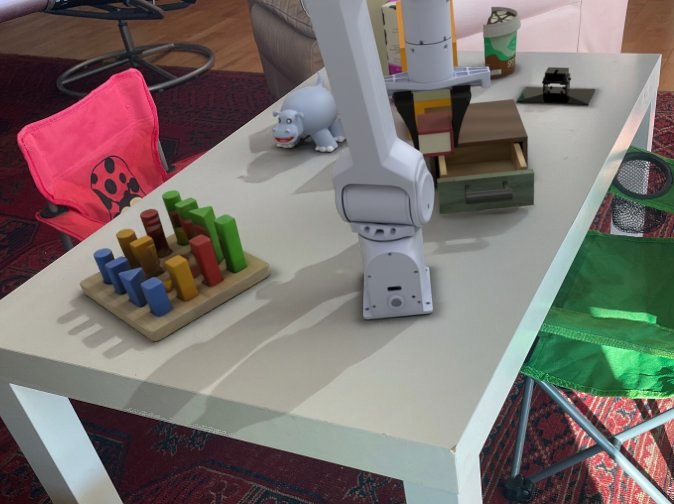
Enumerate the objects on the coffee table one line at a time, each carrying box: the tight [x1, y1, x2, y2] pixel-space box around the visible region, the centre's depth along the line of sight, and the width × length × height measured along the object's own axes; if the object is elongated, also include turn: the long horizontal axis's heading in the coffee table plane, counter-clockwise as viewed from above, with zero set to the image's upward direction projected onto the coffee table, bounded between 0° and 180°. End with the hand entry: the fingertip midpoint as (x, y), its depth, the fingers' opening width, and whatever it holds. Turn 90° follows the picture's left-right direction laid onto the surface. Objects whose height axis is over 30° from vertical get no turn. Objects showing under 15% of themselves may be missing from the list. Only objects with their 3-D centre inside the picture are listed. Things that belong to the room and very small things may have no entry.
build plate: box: [516, 66, 596, 107], centre depth 130 cm, size 12×7×5 cm, turn 70°
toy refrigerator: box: [366, 0, 390, 77], centre depth 136 cm, size 8×7×21 cm
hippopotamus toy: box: [271, 71, 346, 153], centre depth 122 cm, size 11×15×10 cm
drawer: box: [437, 142, 535, 215], centre depth 103 cm, size 17×13×5 cm
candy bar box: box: [381, 0, 402, 103], centre depth 131 cm, size 11×5×16 cm, turn 73°
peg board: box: [79, 189, 271, 342], centre depth 92 cm, size 18×17×9 cm
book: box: [417, 111, 454, 158], centre depth 97 cm, size 6×4×3 cm
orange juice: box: [396, 0, 459, 140], centre depth 119 cm, size 8×9×20 cm
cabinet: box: [424, 98, 529, 189], centre depth 112 cm, size 14×14×6 cm
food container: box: [482, 6, 522, 80], centre depth 140 cm, size 12×6×10 cm, turn 168°
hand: (436, 146), depth 98 cm, fingers closed on book, 4 cm apart
